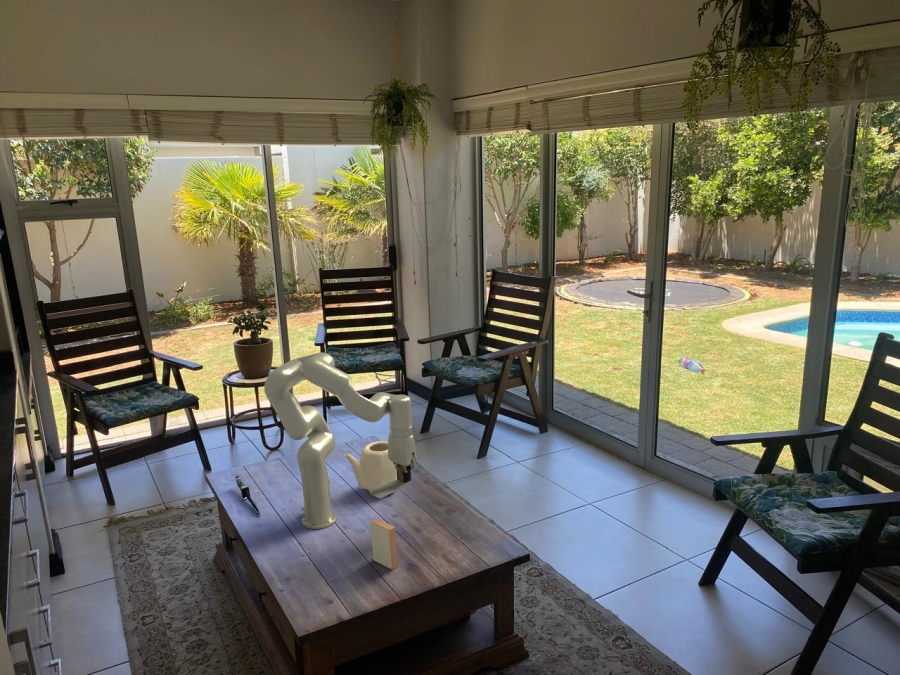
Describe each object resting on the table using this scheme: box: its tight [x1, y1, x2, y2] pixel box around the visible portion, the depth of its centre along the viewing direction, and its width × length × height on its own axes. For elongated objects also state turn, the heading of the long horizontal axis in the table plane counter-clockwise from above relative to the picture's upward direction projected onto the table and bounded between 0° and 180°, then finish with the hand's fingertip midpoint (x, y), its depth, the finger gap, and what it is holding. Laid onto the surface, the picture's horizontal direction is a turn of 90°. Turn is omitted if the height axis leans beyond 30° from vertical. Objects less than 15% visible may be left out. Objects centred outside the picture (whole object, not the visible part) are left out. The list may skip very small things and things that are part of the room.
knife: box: [235, 475, 261, 517], centre depth 264 cm, size 31×3×4 cm, turn 29°
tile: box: [370, 518, 399, 571], centre depth 216 cm, size 9×3×14 cm, turn 48°
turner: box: [369, 465, 408, 500], centre depth 230 cm, size 5×16×6 cm, turn 138°
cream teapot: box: [344, 440, 397, 494], centre depth 267 cm, size 16×27×19 cm, turn 118°
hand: (404, 480), depth 235 cm, fingers closed on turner, 2 cm apart
